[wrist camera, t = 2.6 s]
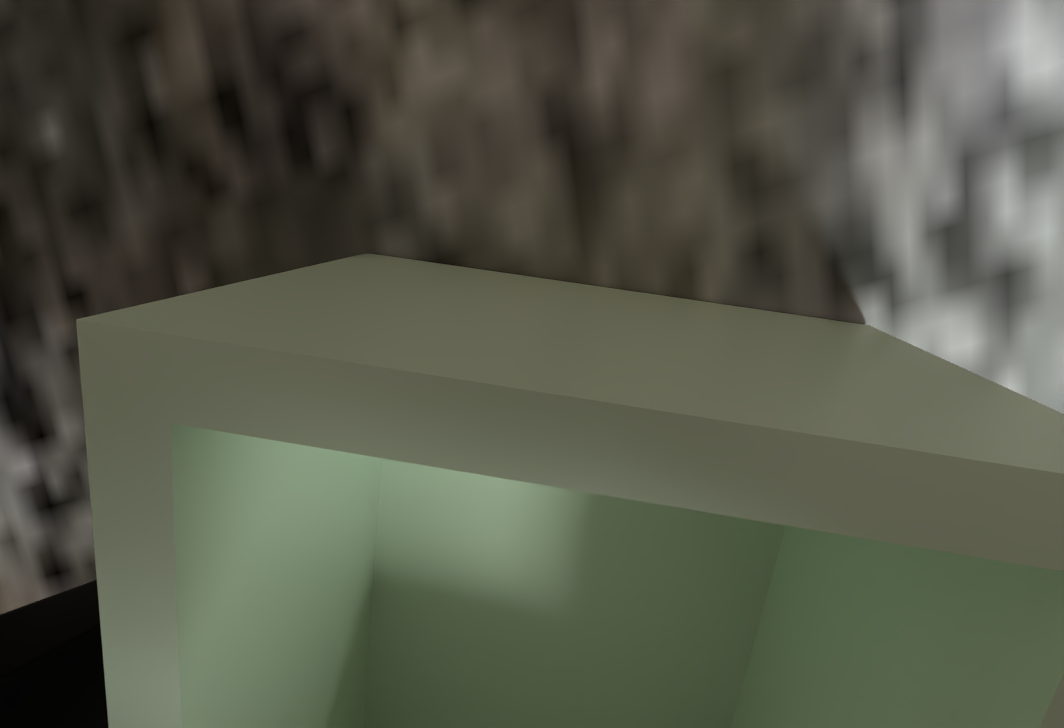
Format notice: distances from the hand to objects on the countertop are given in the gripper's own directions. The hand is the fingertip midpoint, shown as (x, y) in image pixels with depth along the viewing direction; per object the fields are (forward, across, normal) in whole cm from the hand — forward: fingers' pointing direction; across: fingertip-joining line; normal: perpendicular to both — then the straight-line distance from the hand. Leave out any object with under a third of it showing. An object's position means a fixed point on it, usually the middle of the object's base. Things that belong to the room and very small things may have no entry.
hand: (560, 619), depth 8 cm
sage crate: (+1, 0, 0) cm, 1 cm away
